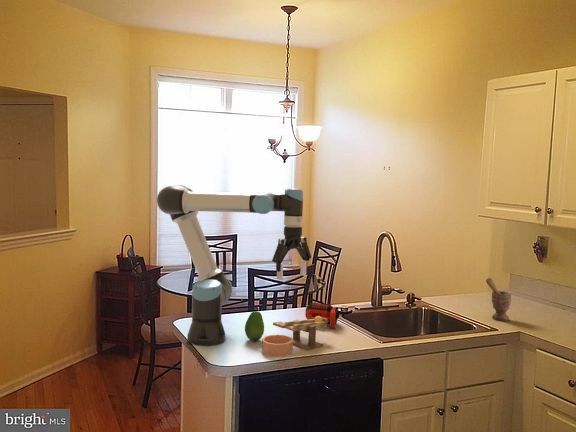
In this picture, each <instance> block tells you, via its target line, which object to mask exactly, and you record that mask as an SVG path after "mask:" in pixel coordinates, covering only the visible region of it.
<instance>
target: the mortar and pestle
mask: <svg viewBox="0 0 576 432" xmlns="http://www.w3.org/2000/svg"><path fill="white" fill-rule="evenodd" d="M485 282H486V284H487V285H488V286H489V288H490V289H491V290H492V291H491V303H492V307H493V309H494V310H495V313H494V314H492V319H493V320H494V321H500V322H506V321H509V320H510V318H509V316H508V315H507V312H508V310H509V309H510V305H511V302H512V301H511V299H512V293H511V292H510V291H504V290H498V288H497V287H496V285H495V282H494V280H493V279H492V278H491V277H489V278H486V280H485Z"/></svg>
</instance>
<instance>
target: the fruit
mask: <svg viewBox="0 0 576 432" xmlns="http://www.w3.org/2000/svg"><path fill="white" fill-rule="evenodd" d="M244 331H245V335H246V338H247V339H248V340H249V341H252V342H257V341H259V340H261V339H262V337H263V335H264V332H265V323H264V319H263V315H262V314H261V312H260V311H257V310H255V311H251V313H250V314H249V316H248V318H247V319H246V322H245V325H244Z"/></svg>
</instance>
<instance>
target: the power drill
mask: <svg viewBox="0 0 576 432" xmlns="http://www.w3.org/2000/svg"><path fill="white" fill-rule="evenodd" d="M304 316H305V318H306V320H309V319H315V317H317V316H320V317H322V318H326V319H328V321H327V325H329V329H336V325H337V322H338V319H339V318H340V312H339V306H332V305H331V304H330V303H326V304H325V303H318V302H317V303H316V302H311V303H310V304H308V305H307V306H306V308H305V313H304Z"/></svg>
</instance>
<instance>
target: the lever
mask: <svg viewBox="0 0 576 432" xmlns="http://www.w3.org/2000/svg"><path fill="white" fill-rule="evenodd" d="M321 318H322V317H321ZM298 320H299V319H298ZM327 321H328V319H326V318H322V322H315V319H309V320H308V319H301V320H299V321H295V320H292V321H285V322H284V321H273V322H272V325H273V326H274V327H278V328H281V329H286V330H289V331H292V332H293V331H300V332H301V331H302V332H305V333H309V326H311V325H315V326H316V330H318V329H324V328H328V324H327Z"/></svg>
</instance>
